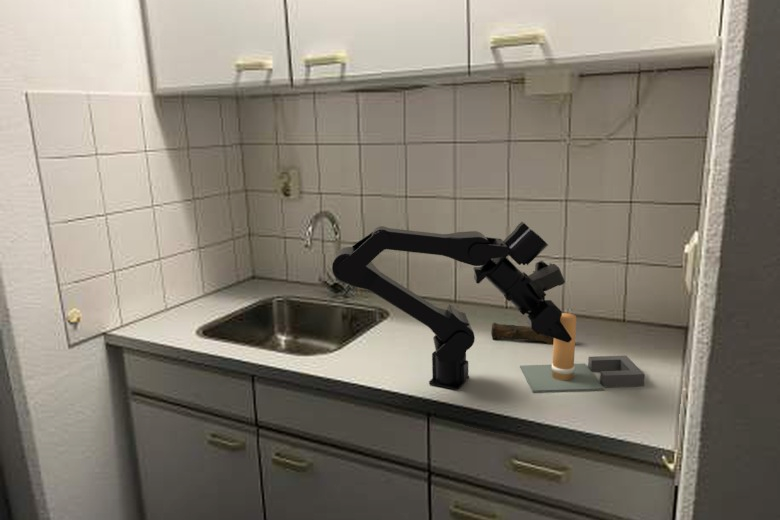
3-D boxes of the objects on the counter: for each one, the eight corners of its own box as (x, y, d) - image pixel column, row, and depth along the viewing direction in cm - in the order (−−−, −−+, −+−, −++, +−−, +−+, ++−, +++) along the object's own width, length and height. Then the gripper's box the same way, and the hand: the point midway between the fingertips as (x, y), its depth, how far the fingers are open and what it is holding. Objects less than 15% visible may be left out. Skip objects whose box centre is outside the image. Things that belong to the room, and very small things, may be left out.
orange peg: (554, 381, 120) (557, 320, 117) (548, 371, 125) (551, 313, 122) (576, 380, 120) (580, 320, 117) (570, 371, 125) (573, 312, 122)
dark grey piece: (603, 387, 118) (604, 375, 117) (588, 367, 127) (588, 356, 127) (643, 385, 118) (644, 374, 117) (625, 366, 127) (626, 355, 127)
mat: (532, 392, 117) (532, 390, 117) (519, 367, 129) (519, 365, 128) (604, 390, 117) (604, 388, 117) (584, 365, 128) (584, 363, 128)
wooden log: (490, 341, 144) (490, 323, 143) (493, 335, 148) (493, 317, 147) (571, 349, 138) (572, 331, 136) (572, 343, 141) (573, 325, 140)
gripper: (552, 264, 107) (610, 320, 110) (528, 242, 125) (578, 291, 128) (507, 306, 109) (565, 361, 112) (491, 279, 127) (540, 326, 130)
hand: (563, 332), depth 120 cm, fingers open, 9 cm apart
